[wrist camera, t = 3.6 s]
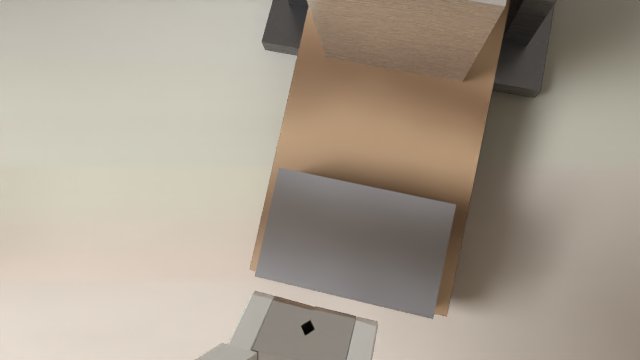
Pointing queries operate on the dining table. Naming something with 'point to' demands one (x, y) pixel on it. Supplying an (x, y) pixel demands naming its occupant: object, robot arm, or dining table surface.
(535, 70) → the fulcrum
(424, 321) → the dining table surface
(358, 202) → the beam
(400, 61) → the block
